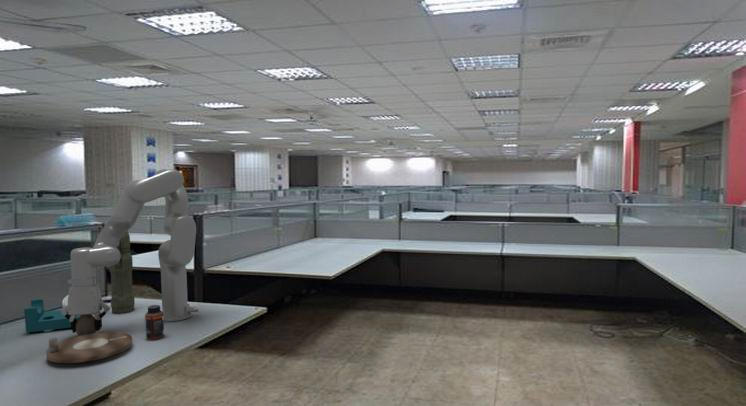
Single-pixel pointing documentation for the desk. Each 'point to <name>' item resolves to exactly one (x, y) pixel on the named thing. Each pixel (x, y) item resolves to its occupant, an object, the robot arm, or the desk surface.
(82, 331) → the vase
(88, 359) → the disc
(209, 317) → the desk surface
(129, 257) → the thermos
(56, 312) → the teal l-shaped bracket
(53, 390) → the desk surface
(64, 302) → the motion sensor
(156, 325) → the supplement bottle
